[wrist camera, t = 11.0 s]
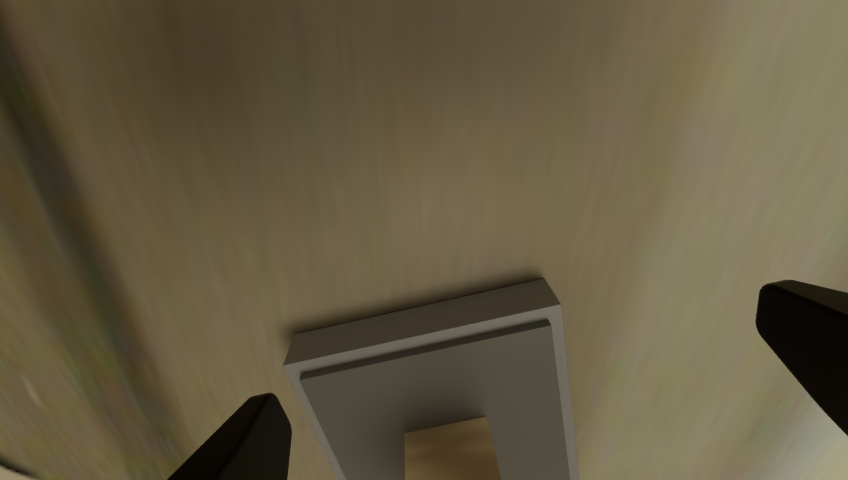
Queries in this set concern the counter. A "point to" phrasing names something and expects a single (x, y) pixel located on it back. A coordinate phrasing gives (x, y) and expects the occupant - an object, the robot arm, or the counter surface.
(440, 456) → the oak block
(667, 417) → the counter surface
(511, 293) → the plate
